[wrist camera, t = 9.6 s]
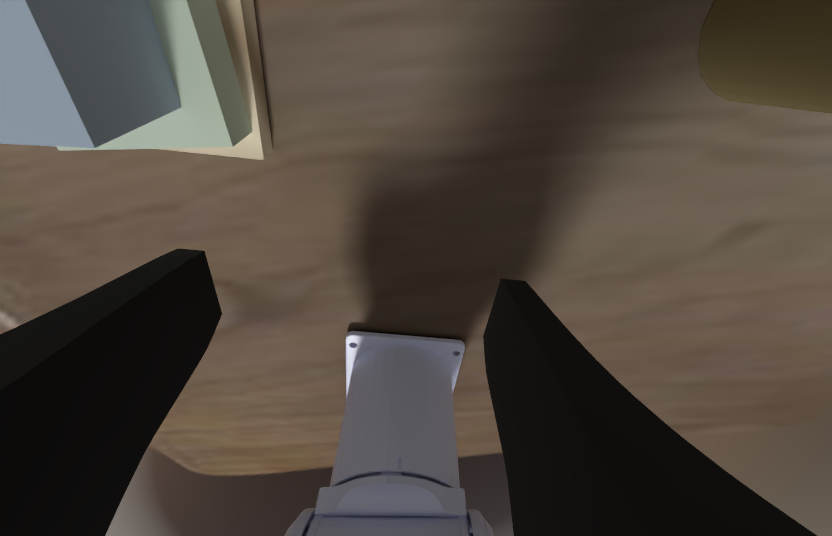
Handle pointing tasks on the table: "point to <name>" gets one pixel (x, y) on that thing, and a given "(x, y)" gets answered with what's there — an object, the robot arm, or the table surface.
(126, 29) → the blue cube
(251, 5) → the birch slab
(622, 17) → the table surface
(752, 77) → the olive tall rounded piece
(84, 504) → the robot arm
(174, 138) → the green block
